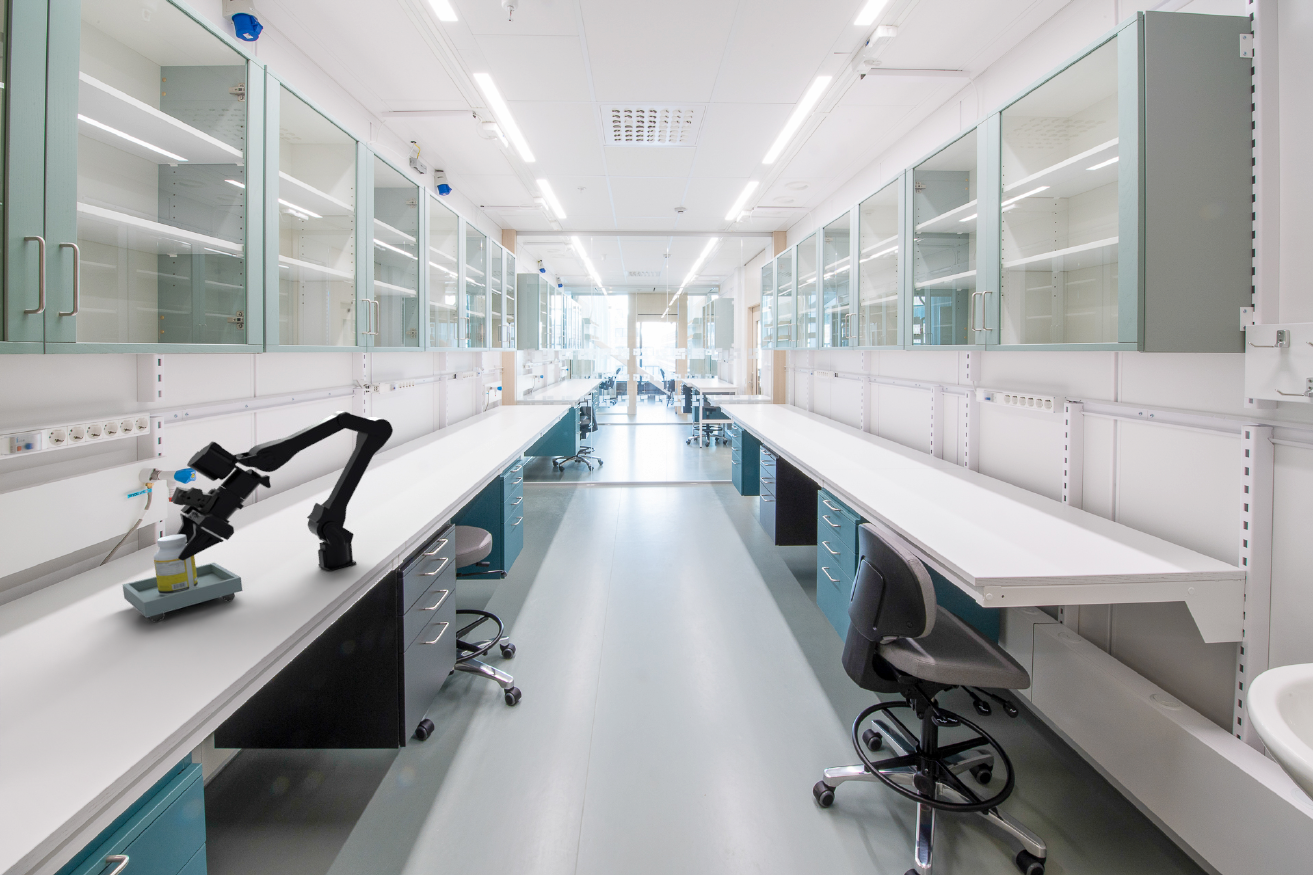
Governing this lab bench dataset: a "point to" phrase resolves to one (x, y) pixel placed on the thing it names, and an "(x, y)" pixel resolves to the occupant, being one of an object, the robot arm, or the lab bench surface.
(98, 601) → the lab bench surface
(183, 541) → the pill bottle
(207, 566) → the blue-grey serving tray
